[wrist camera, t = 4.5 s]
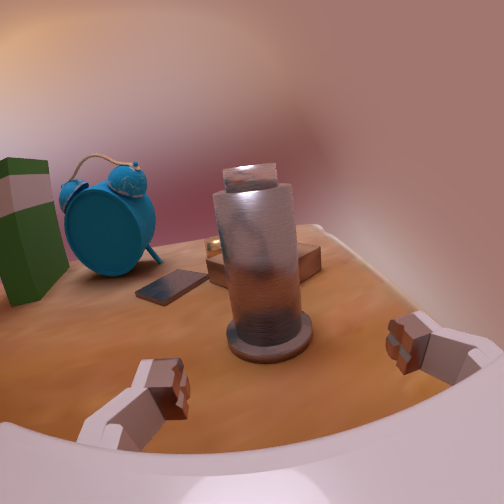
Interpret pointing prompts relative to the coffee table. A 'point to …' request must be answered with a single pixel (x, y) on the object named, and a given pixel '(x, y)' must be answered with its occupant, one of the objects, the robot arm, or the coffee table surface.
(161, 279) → the steel plate
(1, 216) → the hardback book
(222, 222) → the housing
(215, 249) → the brass knob
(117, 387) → the coffee table surface
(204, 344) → the coffee table surface
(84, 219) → the alarm clock
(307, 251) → the stand
